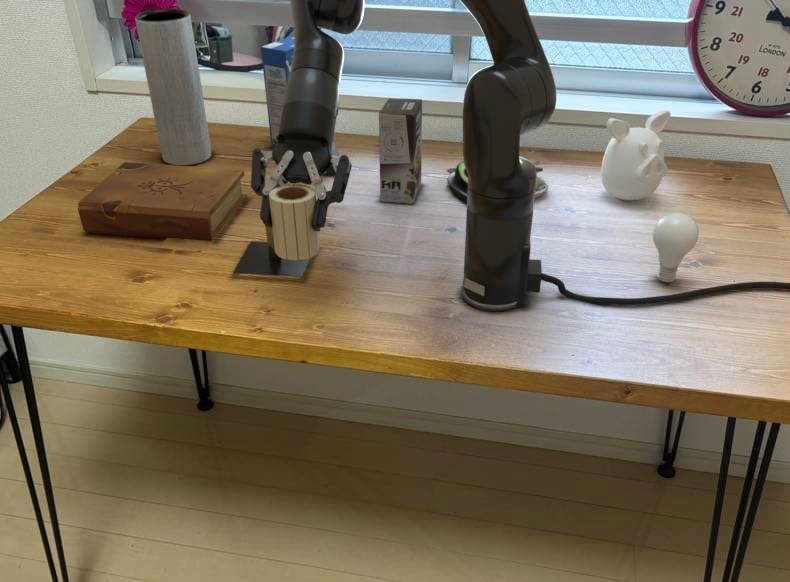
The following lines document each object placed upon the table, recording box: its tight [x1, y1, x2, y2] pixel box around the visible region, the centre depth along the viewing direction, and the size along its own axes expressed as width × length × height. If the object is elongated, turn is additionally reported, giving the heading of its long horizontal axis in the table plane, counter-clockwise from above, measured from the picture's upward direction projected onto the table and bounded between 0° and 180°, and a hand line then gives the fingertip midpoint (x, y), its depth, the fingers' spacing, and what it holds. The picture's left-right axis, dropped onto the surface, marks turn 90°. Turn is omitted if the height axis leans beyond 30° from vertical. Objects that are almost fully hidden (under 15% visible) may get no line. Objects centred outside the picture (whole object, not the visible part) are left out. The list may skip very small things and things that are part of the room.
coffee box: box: [378, 98, 423, 205], centre depth 146 cm, size 9×6×16 cm
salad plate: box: [445, 160, 549, 204], centre depth 151 cm, size 19×18×5 cm
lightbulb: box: [652, 211, 700, 284], centre depth 121 cm, size 6×6×11 cm
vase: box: [134, 8, 212, 166], centre depth 158 cm, size 10×10×27 cm
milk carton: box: [260, 35, 294, 149], centre depth 166 cm, size 10×6×20 cm, turn 147°
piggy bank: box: [600, 109, 671, 201], centre depth 144 cm, size 12×12×15 cm
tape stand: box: [232, 224, 311, 278], centre depth 127 cm, size 11×11×9 cm
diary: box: [77, 161, 248, 241], centre depth 142 cm, size 23×19×6 cm
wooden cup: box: [269, 183, 321, 260], centre depth 112 cm, size 6×6×8 cm
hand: (291, 226), depth 111 cm, fingers closed on wooden cup, 6 cm apart
